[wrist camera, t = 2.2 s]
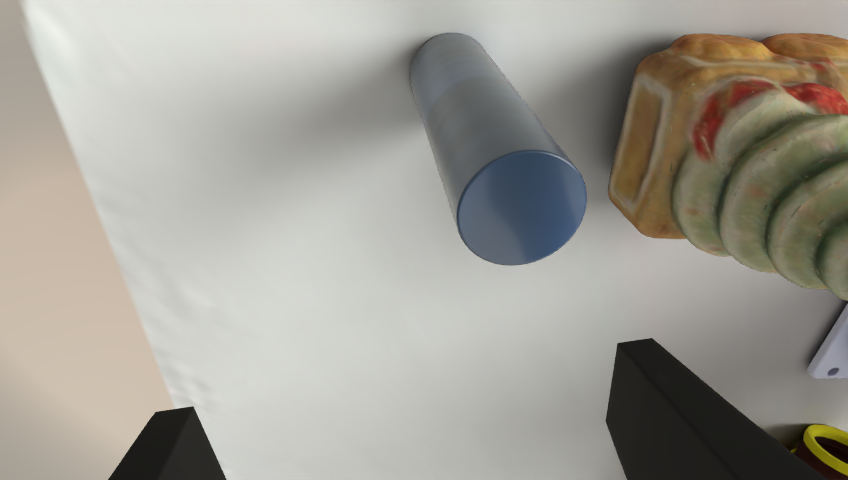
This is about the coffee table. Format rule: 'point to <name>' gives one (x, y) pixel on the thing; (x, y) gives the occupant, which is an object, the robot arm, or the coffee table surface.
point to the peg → (494, 155)
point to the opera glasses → (825, 451)
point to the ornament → (742, 152)
